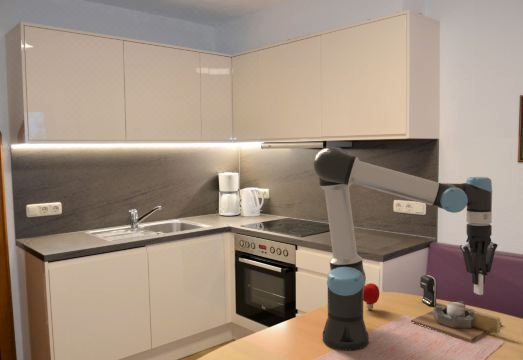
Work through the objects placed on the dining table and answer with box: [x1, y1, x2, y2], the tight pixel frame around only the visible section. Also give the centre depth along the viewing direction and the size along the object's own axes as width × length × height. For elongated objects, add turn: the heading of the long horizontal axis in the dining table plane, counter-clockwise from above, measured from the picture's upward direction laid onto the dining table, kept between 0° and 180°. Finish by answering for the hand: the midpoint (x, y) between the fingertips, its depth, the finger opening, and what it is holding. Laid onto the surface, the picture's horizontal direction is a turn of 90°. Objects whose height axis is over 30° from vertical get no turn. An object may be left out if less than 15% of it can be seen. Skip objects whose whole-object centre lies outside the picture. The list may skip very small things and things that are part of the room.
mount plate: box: [410, 300, 502, 343], centre depth 163 cm, size 22×22×7 cm
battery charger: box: [419, 274, 438, 307], centre depth 184 cm, size 7×4×11 cm, turn 12°
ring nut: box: [433, 304, 501, 335], centre depth 160 cm, size 22×14×5 cm, turn 38°
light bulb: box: [363, 283, 380, 311], centre depth 178 cm, size 9×7×10 cm
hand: (478, 293), depth 152 cm, fingers closed
